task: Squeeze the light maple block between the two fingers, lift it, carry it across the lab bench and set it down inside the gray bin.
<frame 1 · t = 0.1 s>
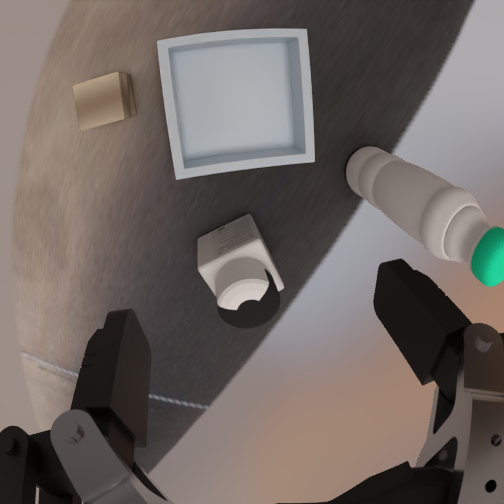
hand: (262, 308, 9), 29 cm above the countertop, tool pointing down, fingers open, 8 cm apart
maple block: (113, 99, 29), on the countertop
water bottle: (365, 169, 39), on the countertop
container: (235, 247, 42), on the countertop
gray bin: (234, 98, 32), on the countertop
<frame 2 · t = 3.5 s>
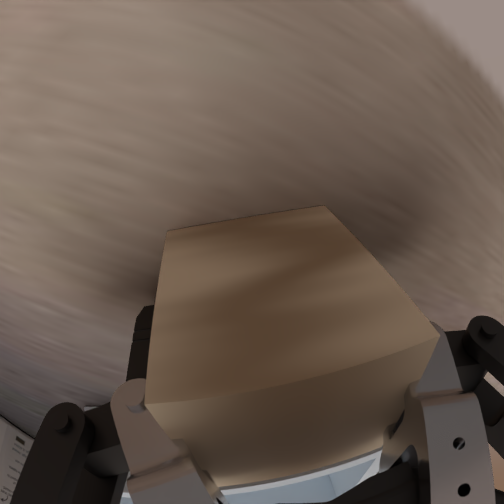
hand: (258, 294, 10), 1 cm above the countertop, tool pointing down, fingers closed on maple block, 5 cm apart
maple block: (255, 283, 11), on the countertop, touching gripper
container: (7, 433, 15), on the countertop
gray bin: (238, 450, 18), on the countertop
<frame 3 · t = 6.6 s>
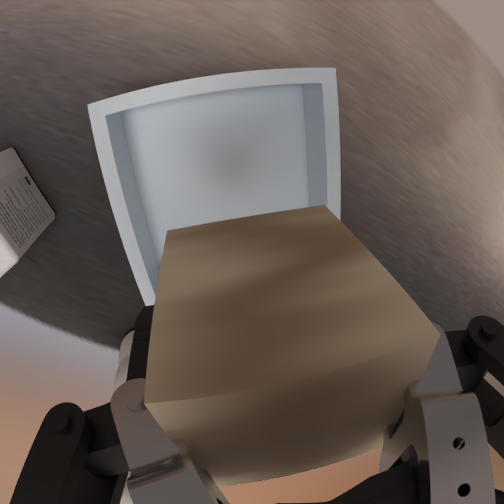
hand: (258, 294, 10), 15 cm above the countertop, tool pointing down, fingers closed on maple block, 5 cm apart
maple block: (255, 282, 11), point 15 cm above the countertop, touching gripper
water bottle: (153, 346, 31), on the countertop
container: (11, 203, 21), on the countertop
gray bin: (222, 174, 23), on the countertop
when the fingers open (3 cm above the countertop, at t = 9.6 s): maple block drops 1 cm, resting on gray bin.
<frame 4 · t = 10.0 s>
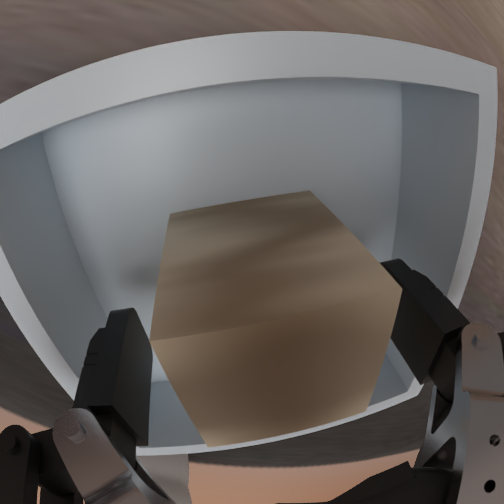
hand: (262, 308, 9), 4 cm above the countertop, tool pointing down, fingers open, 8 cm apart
maple block: (249, 261, 12), point 1 cm above the countertop, touching gray bin
water bottle: (146, 444, 21), on the countertop
gray bin: (244, 249, 13), on the countertop
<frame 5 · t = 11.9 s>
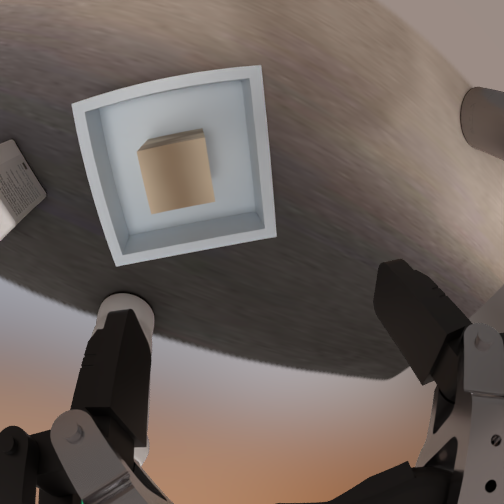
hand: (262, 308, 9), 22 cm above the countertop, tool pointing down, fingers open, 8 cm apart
maple block: (179, 159, 26), point 1 cm above the countertop, touching gray bin
water bottle: (127, 312, 35), on the countertop
container: (10, 185, 24), on the countertop
gray bin: (179, 157, 27), on the countertop
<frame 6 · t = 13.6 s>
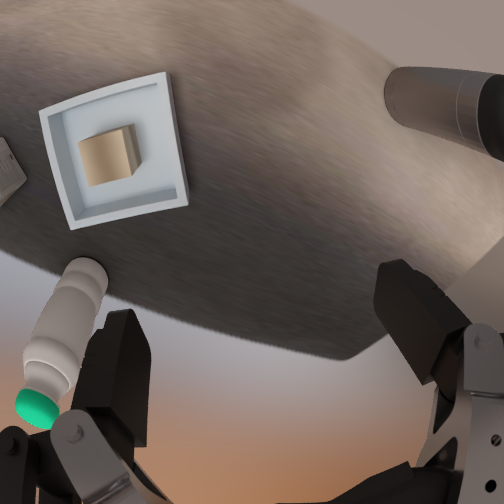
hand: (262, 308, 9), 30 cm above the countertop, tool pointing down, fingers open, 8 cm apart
maple block: (118, 148, 32), point 1 cm above the countertop, touching gray bin
water bottle: (88, 274, 41), on the countertop
container: (1, 172, 31), on the countertop
gray bin: (120, 146, 33), on the countertop
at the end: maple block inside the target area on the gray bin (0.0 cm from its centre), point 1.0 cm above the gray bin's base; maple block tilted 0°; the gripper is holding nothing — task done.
